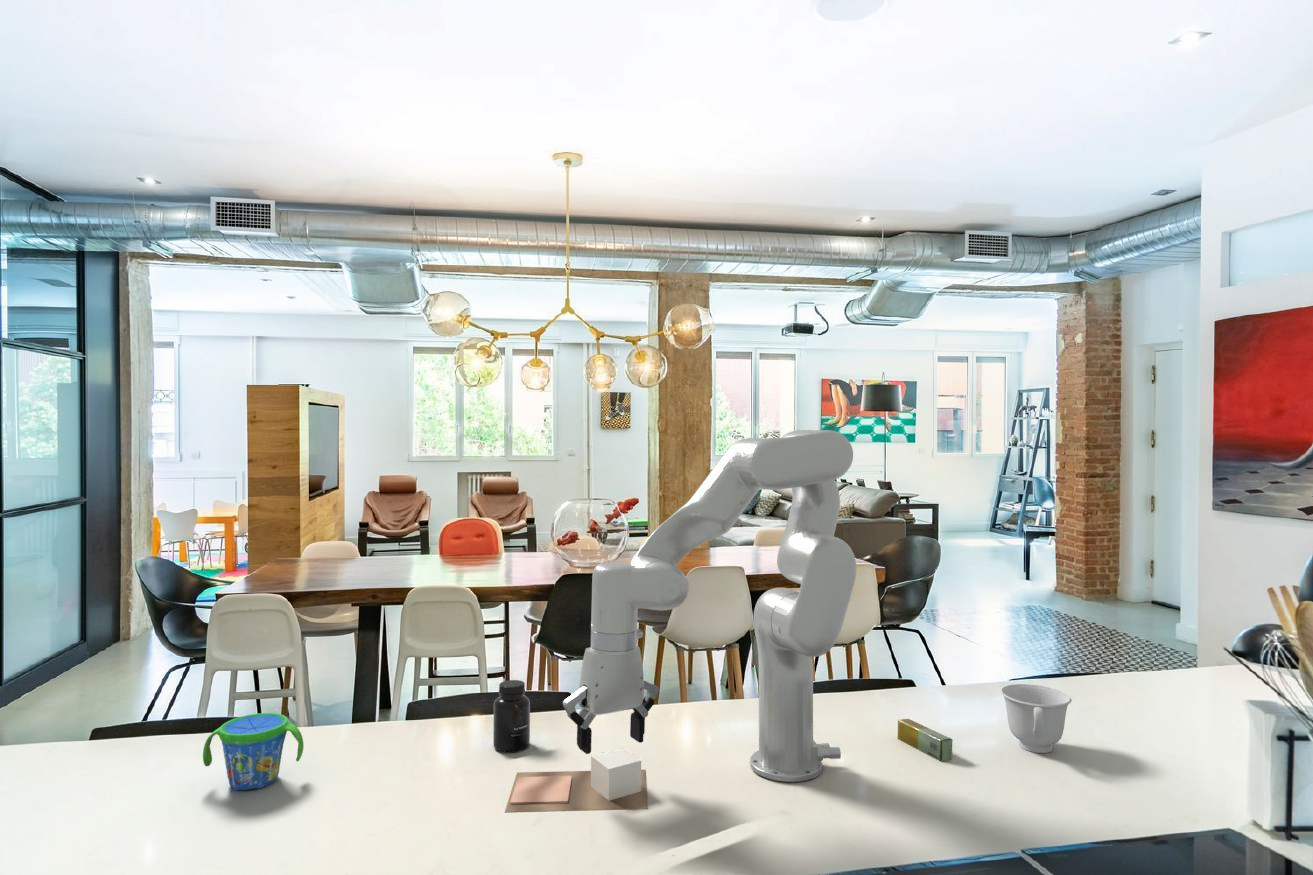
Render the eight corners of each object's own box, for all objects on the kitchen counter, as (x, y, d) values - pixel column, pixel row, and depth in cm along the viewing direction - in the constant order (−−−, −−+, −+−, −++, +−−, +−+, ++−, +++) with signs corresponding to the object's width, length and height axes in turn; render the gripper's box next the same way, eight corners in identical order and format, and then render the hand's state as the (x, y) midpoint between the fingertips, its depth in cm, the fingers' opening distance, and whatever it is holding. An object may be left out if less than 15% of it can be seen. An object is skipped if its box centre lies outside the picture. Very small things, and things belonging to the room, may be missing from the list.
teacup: (1002, 760, 142) (1001, 705, 142) (999, 731, 155) (999, 680, 155) (1077, 771, 137) (1077, 714, 137) (1068, 739, 151) (1067, 688, 151)
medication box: (953, 761, 142) (953, 738, 142) (941, 763, 141) (942, 741, 141) (907, 737, 153) (907, 717, 153) (896, 739, 152) (896, 718, 152)
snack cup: (313, 767, 140) (312, 711, 140) (287, 795, 130) (287, 733, 130) (223, 769, 139) (222, 712, 139) (190, 797, 129) (190, 735, 129)
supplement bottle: (522, 755, 145) (521, 690, 145) (487, 752, 147) (487, 688, 146) (535, 740, 152) (534, 678, 152) (502, 738, 153) (501, 676, 153)
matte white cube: (622, 777, 132) (622, 747, 132) (641, 791, 127) (641, 760, 127) (591, 786, 129) (590, 755, 129) (608, 800, 124) (608, 769, 124)
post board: (645, 778, 135) (645, 747, 135) (648, 818, 121) (647, 784, 121) (517, 781, 134) (516, 750, 134) (504, 821, 120) (504, 787, 120)
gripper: (646, 629, 136) (644, 728, 136) (555, 640, 126) (552, 747, 126) (670, 639, 129) (668, 743, 129) (576, 652, 120) (573, 764, 120)
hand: (611, 745), depth 128 cm, fingers open, 9 cm apart
